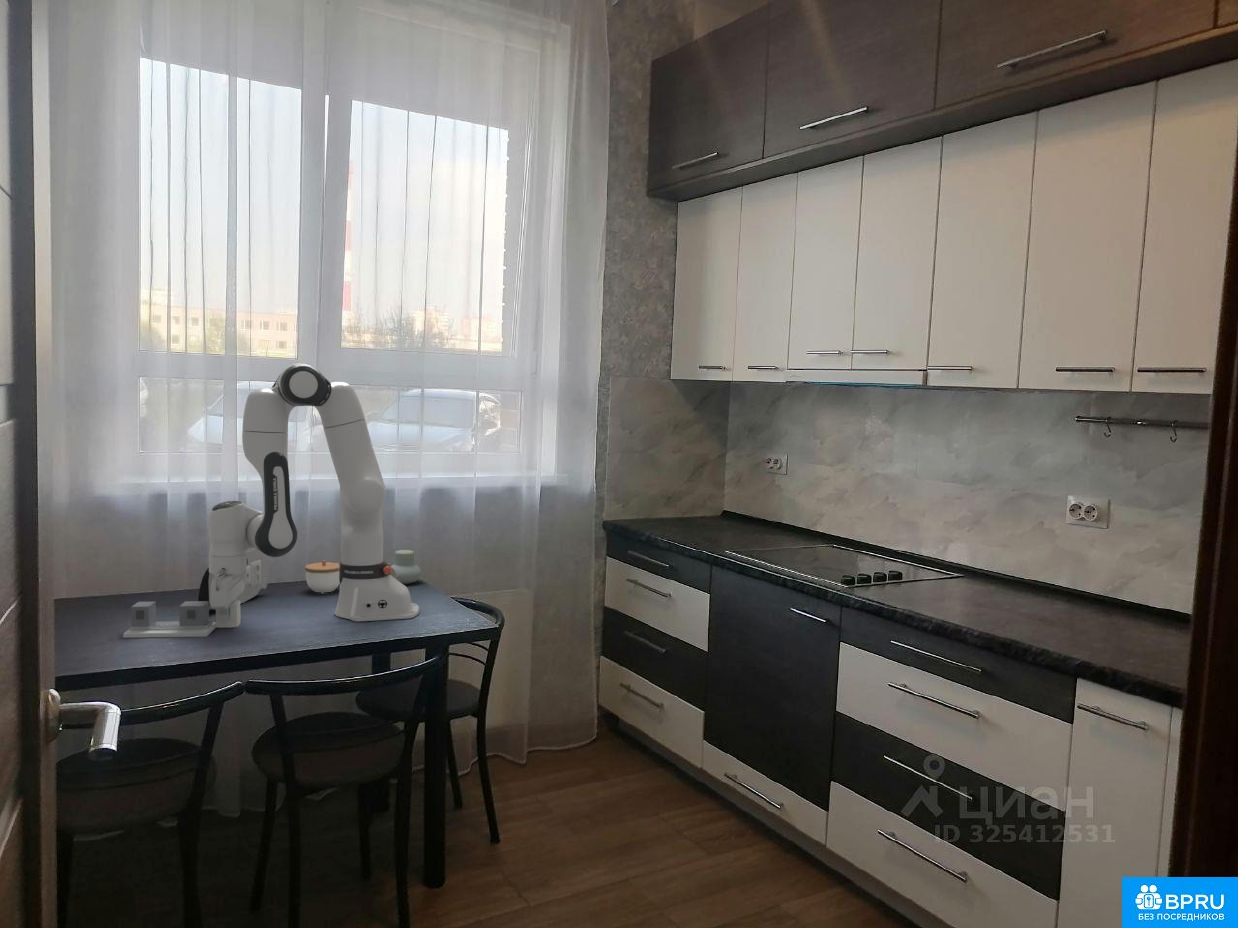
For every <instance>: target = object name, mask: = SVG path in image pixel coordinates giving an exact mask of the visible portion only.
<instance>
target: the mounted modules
mask: <svg viewBox="0 0 1238 928" xmlns="http://www.w3.org/2000/svg"><path fill="white" fill-rule="evenodd" d="M178 607H179V608H178V610H179V612H178V613H179V616H178V617H179V620H178V621H179V623H180V626H204V625H205V624H206V623H207V622H208V621H210V613H209V610H210V606H209V601H198V600H195V601H194V600H192V601H191V600H190V601H187V600H185V601H184V602H183V603H181V604H180V605H179V606H178ZM130 611H131V613H130V615H131V616H130V618H131V619H130V621H131V623H130V624H131V625H130V626H131V627H149V626H150V625H152V624H153V623H154V622H157V613H156V611H157V605H156V601H137V602H136V603H135V604H133V605H132V606H131V607H130Z"/></svg>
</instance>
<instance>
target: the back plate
mask: <svg viewBox="0 0 1238 928" xmlns="http://www.w3.org/2000/svg"><path fill="white" fill-rule="evenodd" d="M215 629H217V628H216V621H213V625H212V626H211V627H210V628H209V629H187V630H130V628H129V629H128V630H126V631H125V632H123V635H122V637H123V639H124V638H125V639H127V638H128V639H131V638H140V639H141V638H187V637H188V638H189V637H190V638H191V637H192V638H193V637H194V638H195V637H201V638H202V637H204V638H205V637H208V636H209V635H210V634H211V633H212V632H213V631H214V630H215Z"/></svg>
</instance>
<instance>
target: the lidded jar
mask: <svg viewBox="0 0 1238 928" xmlns="http://www.w3.org/2000/svg"><path fill="white" fill-rule="evenodd" d="M339 565H340V563H338V562H330V561H329V562H327V561H326V559H323V560H322V562H314V563H309V564H306V565H305V566H304V569H305V580H306V584H307V586H308V587H309V588H310V589H311V590H312V591H315V592H321V593H320V594H325V593H324V592H331V591H334V592H335V590H336V589H337V588H338V587H340V582H339ZM315 592H314V593H315ZM331 593H332V592H331Z"/></svg>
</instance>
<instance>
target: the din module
mask: <svg viewBox="0 0 1238 928" xmlns="http://www.w3.org/2000/svg"><path fill="white" fill-rule="evenodd" d="M228 611H229V620H228V621H227V622H222V621H221V615H220V612H219V609H215V622H216V628H215V629H217V628H218V629H219V628H238V627H239V626H240V624H241V621H242V620H241V613H242V612H241V605H240V600H235V601H233V602H232V603H231V604H230V605H229V608H228Z"/></svg>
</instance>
